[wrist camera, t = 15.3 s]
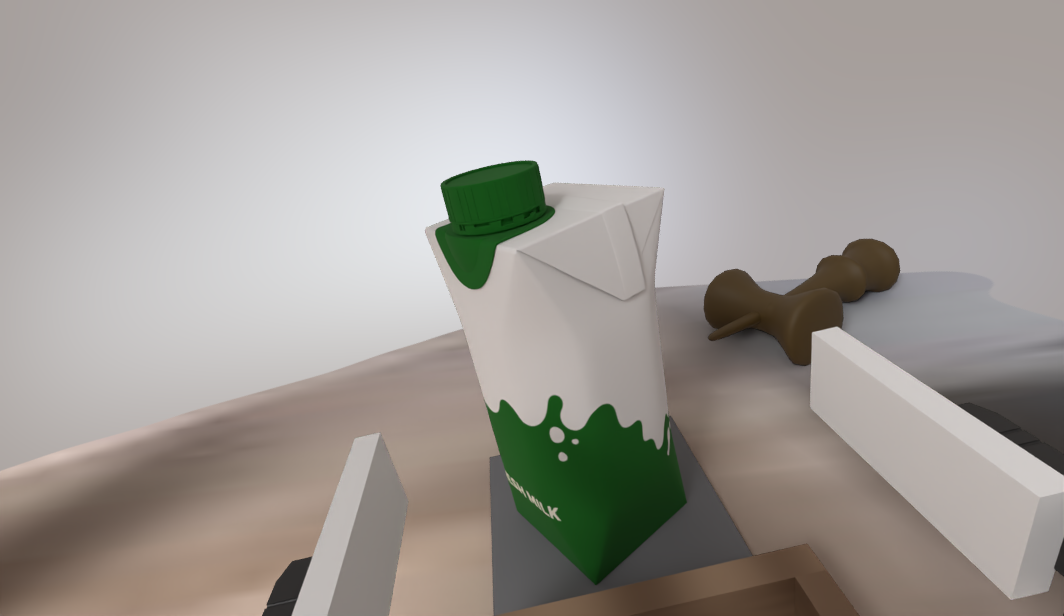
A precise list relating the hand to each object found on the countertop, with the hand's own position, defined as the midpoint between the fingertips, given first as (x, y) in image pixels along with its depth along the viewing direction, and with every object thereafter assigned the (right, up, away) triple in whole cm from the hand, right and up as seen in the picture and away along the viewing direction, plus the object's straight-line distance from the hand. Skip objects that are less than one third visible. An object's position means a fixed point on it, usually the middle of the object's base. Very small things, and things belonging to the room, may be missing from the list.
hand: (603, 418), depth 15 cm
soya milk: (+2, -8, +14) cm, 17 cm away
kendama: (+21, +1, +29) cm, 36 cm away
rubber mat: (+2, -9, +14) cm, 17 cm away
